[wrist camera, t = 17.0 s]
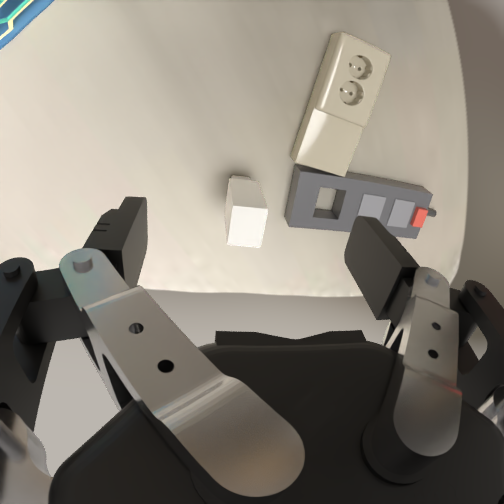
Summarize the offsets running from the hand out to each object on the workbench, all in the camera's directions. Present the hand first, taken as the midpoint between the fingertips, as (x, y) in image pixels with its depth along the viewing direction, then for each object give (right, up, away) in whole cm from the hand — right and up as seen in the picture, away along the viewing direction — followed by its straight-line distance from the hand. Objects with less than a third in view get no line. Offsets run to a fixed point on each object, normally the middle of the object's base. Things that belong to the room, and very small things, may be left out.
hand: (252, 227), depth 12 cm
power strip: (+18, +7, +34) cm, 39 cm away
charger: (-2, +8, +31) cm, 32 cm away
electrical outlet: (+11, +19, +26) cm, 34 cm away
